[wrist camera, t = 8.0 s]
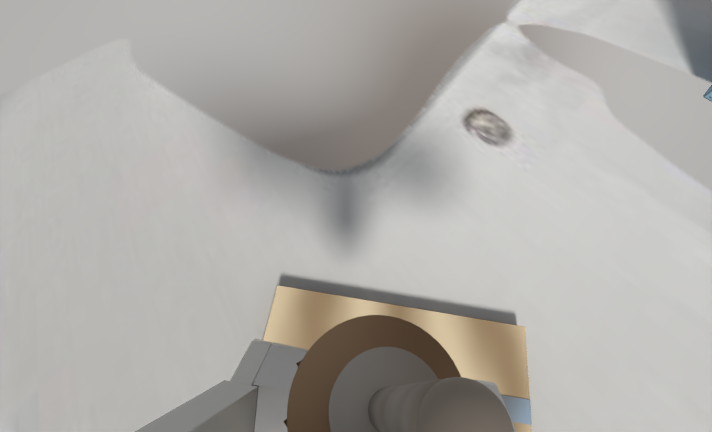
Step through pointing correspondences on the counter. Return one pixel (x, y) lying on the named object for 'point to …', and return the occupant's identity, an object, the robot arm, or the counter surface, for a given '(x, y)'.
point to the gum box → (709, 94)
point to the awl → (387, 384)
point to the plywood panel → (455, 333)
